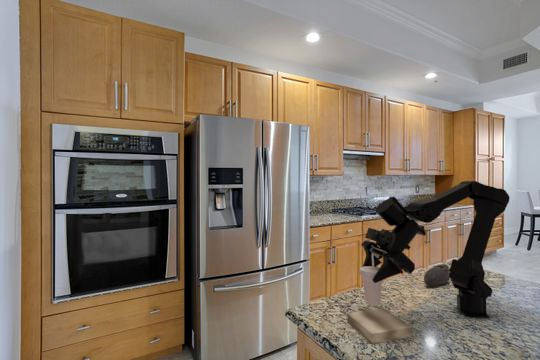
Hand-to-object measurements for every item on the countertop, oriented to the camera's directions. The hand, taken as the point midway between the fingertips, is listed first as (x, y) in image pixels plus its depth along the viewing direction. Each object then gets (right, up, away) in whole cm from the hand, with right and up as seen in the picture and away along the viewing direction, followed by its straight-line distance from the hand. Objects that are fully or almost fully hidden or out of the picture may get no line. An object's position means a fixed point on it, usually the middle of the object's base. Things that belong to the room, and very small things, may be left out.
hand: (367, 277), depth 81 cm
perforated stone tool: (+37, -13, +30) cm, 50 cm away
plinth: (+2, -13, -3) cm, 14 cm away
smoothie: (+2, -7, 0) cm, 8 cm away
